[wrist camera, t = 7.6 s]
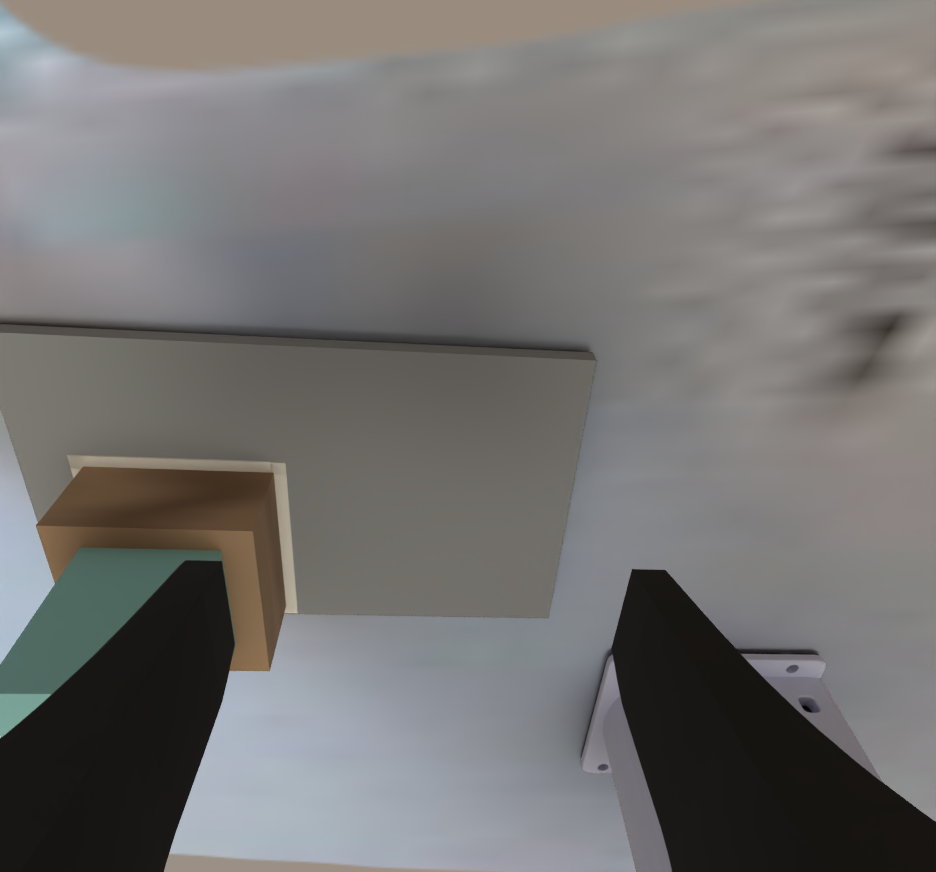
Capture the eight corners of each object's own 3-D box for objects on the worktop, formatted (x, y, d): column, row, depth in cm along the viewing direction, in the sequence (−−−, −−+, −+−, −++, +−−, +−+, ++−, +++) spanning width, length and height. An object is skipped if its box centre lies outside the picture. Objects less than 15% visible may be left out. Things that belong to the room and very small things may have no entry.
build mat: (592, 352, 21) (596, 361, 20) (546, 606, 27) (548, 619, 26) (-13, 323, 20) (-26, 332, 19) (73, 598, 25) (65, 611, 25)
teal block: (221, 550, 20) (163, 694, 15) (236, 644, 22) (188, 795, 18) (80, 547, 19) (-20, 693, 15) (108, 643, 21) (28, 796, 17)
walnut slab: (273, 472, 22) (252, 531, 19) (286, 605, 25) (269, 671, 23) (82, 466, 22) (36, 525, 19) (119, 602, 25) (83, 669, 22)
